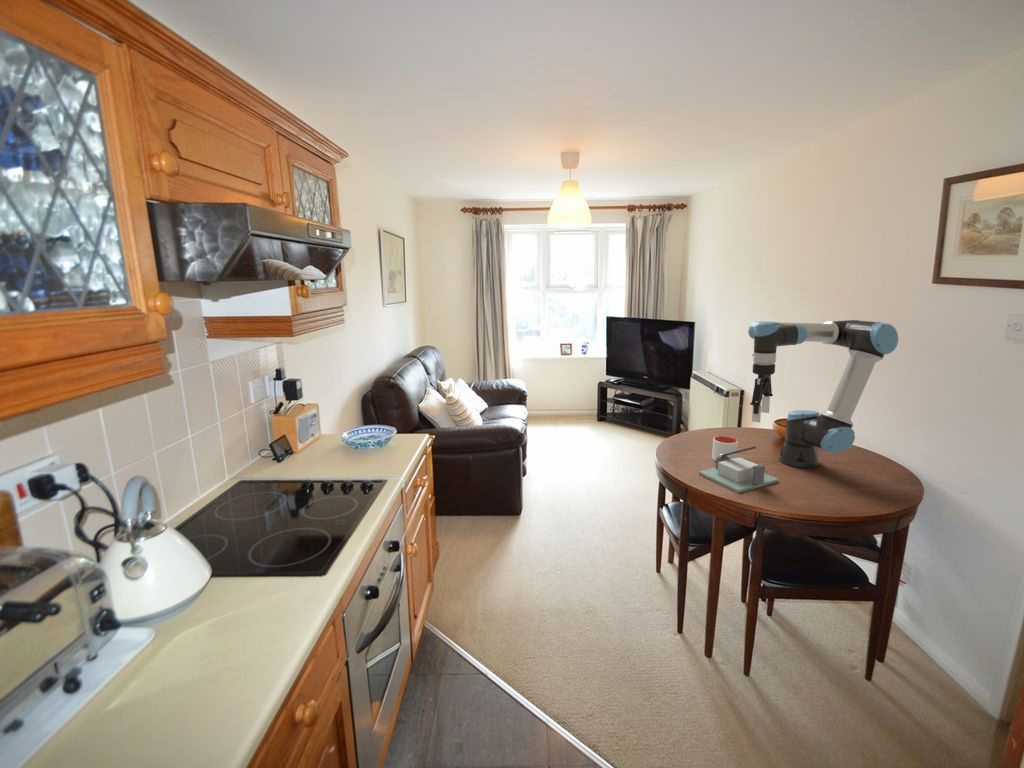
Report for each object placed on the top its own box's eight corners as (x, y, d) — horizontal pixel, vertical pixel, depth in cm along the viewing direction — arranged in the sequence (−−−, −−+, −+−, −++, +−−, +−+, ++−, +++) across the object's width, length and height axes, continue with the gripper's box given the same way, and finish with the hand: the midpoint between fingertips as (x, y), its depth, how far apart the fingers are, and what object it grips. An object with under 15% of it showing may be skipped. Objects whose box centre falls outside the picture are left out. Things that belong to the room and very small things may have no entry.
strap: (726, 456, 205) (725, 453, 205) (757, 448, 190) (756, 445, 190) (718, 458, 203) (717, 455, 203) (749, 450, 188) (748, 447, 189)
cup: (737, 466, 210) (739, 444, 208) (712, 463, 213) (714, 442, 211) (734, 457, 219) (736, 436, 217) (711, 455, 222) (712, 435, 220)
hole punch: (736, 464, 211) (738, 446, 209) (778, 481, 194) (780, 461, 192) (698, 474, 202) (700, 455, 201) (738, 493, 185) (740, 472, 183)
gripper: (761, 356, 194) (758, 407, 199) (744, 368, 175) (741, 424, 180) (782, 358, 189) (778, 410, 194) (766, 370, 170) (763, 427, 175)
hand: (760, 417), depth 187 cm, fingers open, 13 cm apart
